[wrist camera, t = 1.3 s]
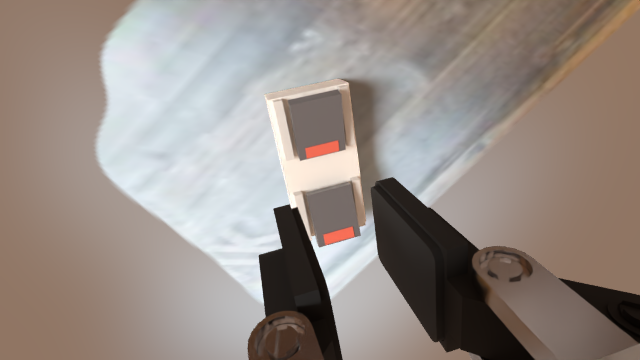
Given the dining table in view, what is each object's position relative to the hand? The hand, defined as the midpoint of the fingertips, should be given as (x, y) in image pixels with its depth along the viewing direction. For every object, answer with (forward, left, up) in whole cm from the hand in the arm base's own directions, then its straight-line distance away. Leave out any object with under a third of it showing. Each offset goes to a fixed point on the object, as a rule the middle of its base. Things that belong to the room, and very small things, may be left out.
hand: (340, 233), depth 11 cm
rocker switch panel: (-3, +6, -21) cm, 22 cm away
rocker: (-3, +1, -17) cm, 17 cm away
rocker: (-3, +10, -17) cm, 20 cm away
